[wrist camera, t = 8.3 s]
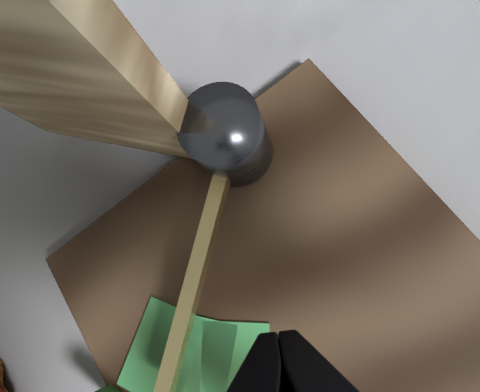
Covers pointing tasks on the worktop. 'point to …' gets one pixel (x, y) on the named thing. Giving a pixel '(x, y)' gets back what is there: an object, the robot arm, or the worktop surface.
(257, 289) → the tuner board
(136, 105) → the wood grain plank
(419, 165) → the worktop surface
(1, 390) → the burger
